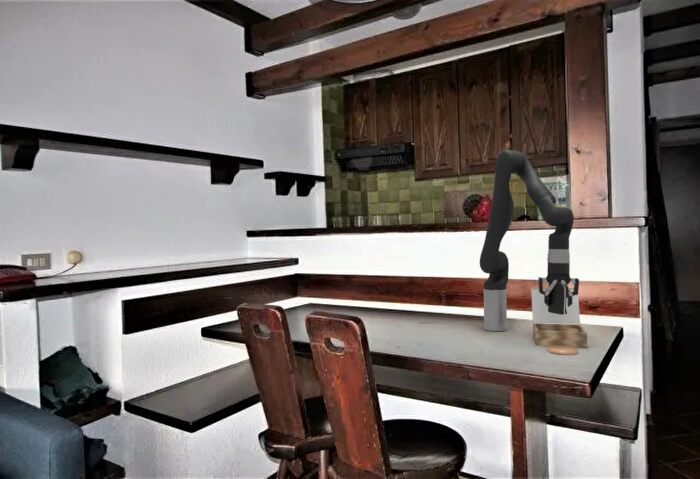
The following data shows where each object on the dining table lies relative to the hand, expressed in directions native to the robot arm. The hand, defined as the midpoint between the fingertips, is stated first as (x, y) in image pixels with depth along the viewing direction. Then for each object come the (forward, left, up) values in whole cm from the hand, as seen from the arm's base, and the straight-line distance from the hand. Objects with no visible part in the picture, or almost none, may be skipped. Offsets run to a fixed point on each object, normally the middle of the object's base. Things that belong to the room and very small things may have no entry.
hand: (558, 305), depth 178 cm
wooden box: (0, +1, -14) cm, 14 cm away
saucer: (0, -12, -14) cm, 18 cm away
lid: (0, +11, -1) cm, 11 cm away
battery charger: (0, 0, -3) cm, 3 cm away
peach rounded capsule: (+6, +5, -14) cm, 16 cm away
